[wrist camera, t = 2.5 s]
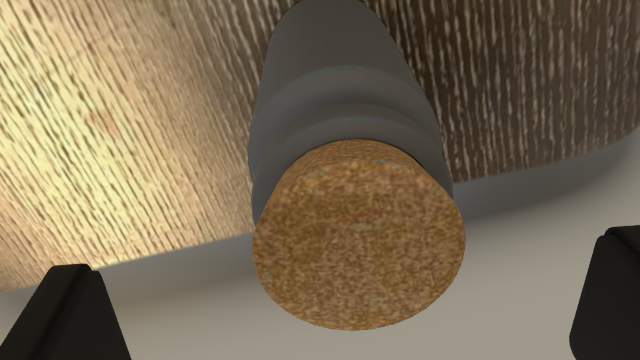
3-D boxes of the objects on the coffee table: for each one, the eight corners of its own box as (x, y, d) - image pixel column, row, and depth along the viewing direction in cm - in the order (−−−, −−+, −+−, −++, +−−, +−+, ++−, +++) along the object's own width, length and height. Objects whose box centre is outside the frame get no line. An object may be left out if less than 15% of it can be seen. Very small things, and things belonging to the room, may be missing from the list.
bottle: (264, 108, 25) (224, 343, 12) (271, -15, 22) (226, 123, 9) (380, 118, 26) (457, 355, 13) (401, -2, 23) (530, 148, 10)
